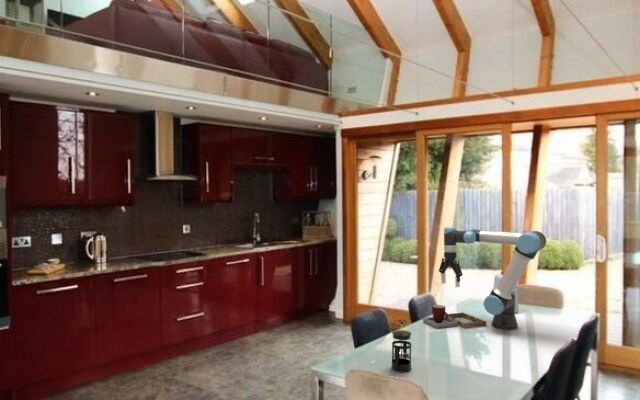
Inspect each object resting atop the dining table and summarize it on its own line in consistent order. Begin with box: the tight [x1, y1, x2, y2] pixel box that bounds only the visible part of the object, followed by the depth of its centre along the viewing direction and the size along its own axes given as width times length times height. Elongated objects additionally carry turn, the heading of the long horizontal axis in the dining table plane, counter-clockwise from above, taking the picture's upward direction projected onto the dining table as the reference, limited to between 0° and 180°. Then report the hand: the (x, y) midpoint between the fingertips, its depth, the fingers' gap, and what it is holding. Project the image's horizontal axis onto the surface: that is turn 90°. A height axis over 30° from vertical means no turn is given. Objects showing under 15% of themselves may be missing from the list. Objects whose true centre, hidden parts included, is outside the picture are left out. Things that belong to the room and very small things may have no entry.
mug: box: [431, 304, 449, 323], centre depth 311 cm, size 10×8×10 cm
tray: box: [422, 316, 459, 330], centre depth 311 cm, size 15×15×3 cm
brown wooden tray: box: [445, 312, 487, 330], centre depth 317 cm, size 23×16×3 cm
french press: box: [390, 318, 413, 373], centre depth 235 cm, size 12×9×23 cm
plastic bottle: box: [493, 270, 520, 315], centre depth 346 cm, size 15×15×28 cm
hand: (450, 285), depth 317 cm, fingers open, 13 cm apart
